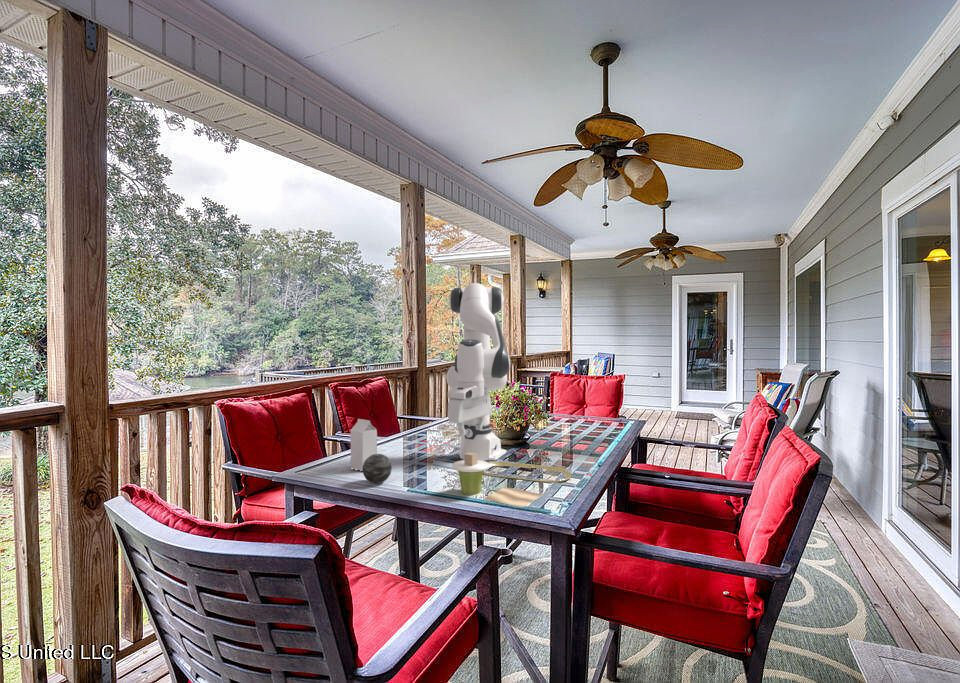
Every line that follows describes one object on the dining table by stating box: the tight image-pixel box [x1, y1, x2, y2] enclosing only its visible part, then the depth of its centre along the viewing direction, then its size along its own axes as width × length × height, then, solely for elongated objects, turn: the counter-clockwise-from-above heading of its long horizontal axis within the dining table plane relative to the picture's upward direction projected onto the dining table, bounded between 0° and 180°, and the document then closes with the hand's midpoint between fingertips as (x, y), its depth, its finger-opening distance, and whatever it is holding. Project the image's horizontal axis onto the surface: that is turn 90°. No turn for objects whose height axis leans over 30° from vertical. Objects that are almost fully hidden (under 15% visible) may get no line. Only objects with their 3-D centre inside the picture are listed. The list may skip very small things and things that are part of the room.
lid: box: [451, 452, 490, 472], centre depth 158 cm, size 12×12×4 cm
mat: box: [482, 486, 544, 509], centre depth 153 cm, size 14×14×1 cm
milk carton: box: [350, 418, 378, 472], centre depth 187 cm, size 7×7×19 cm
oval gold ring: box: [483, 461, 572, 484], centre depth 180 cm, size 19×35×2 cm, turn 67°
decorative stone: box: [362, 453, 393, 484], centre depth 169 cm, size 10×10×10 cm
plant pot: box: [457, 470, 485, 496], centre depth 158 cm, size 9×9×9 cm
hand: (470, 432), depth 158 cm, fingers open, 8 cm apart
